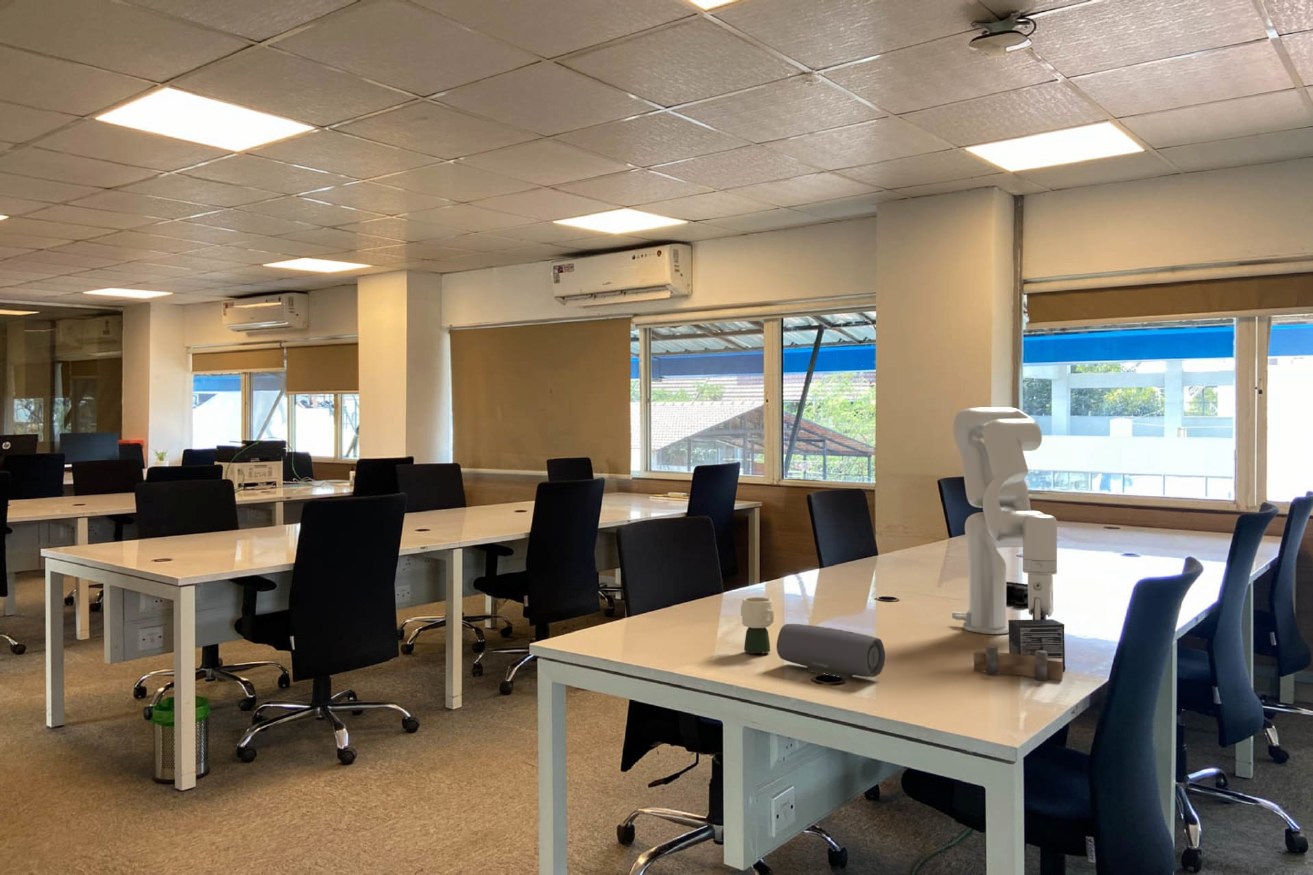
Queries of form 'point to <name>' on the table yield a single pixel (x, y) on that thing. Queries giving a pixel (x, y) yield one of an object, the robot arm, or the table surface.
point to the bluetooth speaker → (831, 650)
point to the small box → (1037, 637)
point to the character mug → (757, 623)
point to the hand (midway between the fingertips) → (1039, 642)
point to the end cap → (1017, 594)
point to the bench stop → (1018, 664)
